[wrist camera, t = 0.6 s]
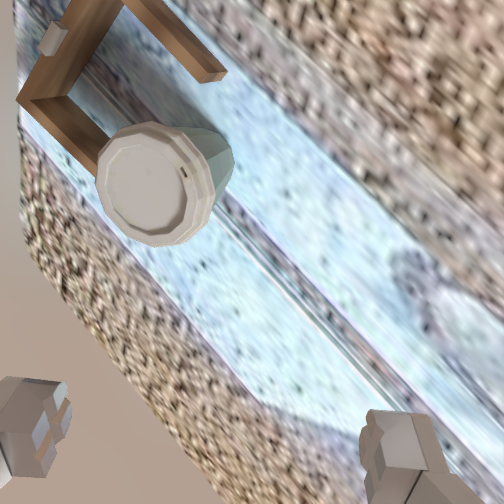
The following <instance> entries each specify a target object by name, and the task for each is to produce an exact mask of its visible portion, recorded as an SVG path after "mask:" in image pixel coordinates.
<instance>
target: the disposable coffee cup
mask: <svg viewBox="0 0 504 504" xmlns="http://www.w3.org/2000/svg"><path fill="white" fill-rule="evenodd" d="M234 164H235V162H234V158H233V154H232V149H231V146H230V145H229V144H228V143H227V142H226V141H225V139H224V138H223V137H222V136H221V135H220V134H218V133H216V132H213V131H210V130H208V129H205V128H191V127H176V126H165V125H162V124H159V123H157V122H154V121H148V122H144V123H140V124H135V125H131V126H127V127H123V128H121V129H120V130H118V131H117V132H116V133H115V134H114V135H113V136H112V138H111V139H110V140H109V141H108V142H107V144H106V145H105V146H104V147H103V148H102V149H101V151H100V152H99V153H98V161H97V169H96V176H95V186H96V189H97V191H98V194H99V197H100V200H101V203H102V206H103V209H104V212H105V214H106V215H107V216H108V217H109V218H110V219H111V220H112V221H113V222H114V223H115V224H116V225H117V227H118V228H119V229H120V230H121V231H122V232H123V233H124V234H125V235H126V236H127V237H130V238H132V239H134V240H137V241H139V242H142V243H144V244H147V245H149V246H152V247H154V248H155V247H163V246H171V245H179V244H183V243H184V242H187V241H188V240H189V239H191V238H192V237H193V236H194V235H195V234H196V233H197V232H199V231H200V230H201V229H202V228H203V227H204V226H205V225H207V224H208V220H209V217H210V213H211V211H212V209H213V207H214V206H215V204H216V202H217V201H218V199H219V197H220V196H221V194H222V192H223V190H224V189H225V187H226V185H227V184H228V182H229V180H230V178H231V175H232V171H233V168H234Z"/></svg>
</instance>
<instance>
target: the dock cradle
mask: <svg viewBox="0 0 504 504" xmlns="http://www.w3.org/2000/svg"><path fill="white" fill-rule="evenodd" d="M124 4H125V5H126V6H127V7H128V8H129V9H130V10H131V12H132V13H133V14H134V15H135V16H136V17H137V18H138V19H139V20H140V21H141V22H142V23H143V24H144V25H145V26H146V27H147V28H148V29H149V31H150V32H151V33H152V34H153V35H154V36H155V37H156V38H157V39H158V40H159V41H160V42H161V43H162V44H163V45H164V46H165V47H166V49H167V50H168V51H169V52H170V53H171V54H172V55H173V56H174V57H175V58H176V59H177V60H178V61H179V62H180V63H181V64H182V65H183V66H184V68H185V69H186V70H187V71H188V72H189V73H190V74H191V75H192V76H193V77H194V78H195V79H196V80H197V81H198V82H199V83H200V84H202V83H209V82H215V81H221V80H222V78H223V77H224V76H225V75H226V74H227V72H228V71H227V70H226V69H225V67H224V66H223V65H222V64H221V63H220V62H219V61H218V60H217V59H216V58H215V57H214V56H213V55H212V53H211V52H210V51H209V50H208V49H207V48H206V47H205V46H204V45H203V44H202V43H201V42H200V41H199V40H198V38H197V37H196V36H195V35H194V34H193V33H192V32H191V31H190V30H189V29H188V28H187V27H186V26H185V24H184V23H183V22H182V21H181V20H180V19H179V18H178V17H177V16H176V15H175V14H174V13H173V12H172V10H171V9H170V8H169V7H168V6H167V5H166V4H165V3H164V2H163V1H162V0H71V2H70V4H69V6H68V7H67V9H66V11H65V13H64V14H63V16H62V18H61V20H60V22H59V21H52V22H51V24H50V25H49V27H48V29H47V31H46V33H45V34H44V36H43V38H42V40H41V42H40V43H39V45H38V47H37V48H38V49H39V50H40V51H41V52H42V54H41V55H40V57H39V59H38V61H37V62H36V64H35V66H34V68H33V70H32V71H31V73H30V75H29V77H28V78H27V80H26V82H25V84H24V85H23V87H22V89H21V91H20V93H19V94H18V96H17V98H16V101H17V102H18V103H19V104H20V105H21V106H22V107H23V108H24V109H25V110H26V111H27V112H28V113H29V114H30V115H31V116H32V117H33V118H34V119H35V120H36V121H37V122H38V123H40V124H41V125H42V126H43V127H44V128H45V129H46V130H47V131H48V132H49V133H50V134H51V135H52V136H53V137H54V138H55V139H56V140H57V141H58V142H59V143H60V144H61V145H62V146H63V147H64V148H65V149H66V150H67V151H68V152H69V153H70V154H71V155H72V156H73V157H74V158H75V159H77V160H78V161H79V162H80V163H81V164H82V165H83V166H84V167H85V168H86V169H87V170H88V171H89V172H90V173H91V174H92V175H93V176H94V177H95V176H96V169H97V161H98V153H99V152H100V151H101V149H102V148H103V147H104V146H105V145H106V144H107V142H108V141H109V140H110V138H109V137H108V136H107V135H106V134H105V133H104V132H103V131H102V130H101V129H100V128H99V127H98V126H97V125H96V124H95V123H94V122H93V121H92V120H91V119H90V118H89V117H88V116H87V115H86V114H85V113H84V112H83V111H82V110H81V109H80V108H79V107H78V106H77V105H76V104H75V103H74V102H73V101H72V100H71V99H70V98H69V97H68V96H67V94H68V93H69V91H70V89H71V88H72V86H73V85H74V83H75V82H76V80H77V78H78V77H79V75H80V74H81V72H82V70H83V69H84V67H85V66H86V64H87V63H88V61H89V59H90V58H91V56H92V55H93V53H94V51H95V50H96V48H97V47H98V45H99V44H100V42H101V40H102V39H103V37H104V36H105V34H106V33H107V31H108V29H109V28H110V26H111V25H112V23H113V21H114V20H115V18H116V17H117V15H118V14H119V12H120V10H121V9H122V7H123V6H124Z"/></svg>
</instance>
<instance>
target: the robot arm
mask: <svg viewBox="0 0 504 504" xmlns="http://www.w3.org/2000/svg"><path fill="white" fill-rule="evenodd" d="M67 392H68V389H67V386H66V383H64V382H55V381H48V380H39V379H30V378H22V377H12V376H6V377H5V378H4V379H2V380H1V381H0V488H2V487H3V486H4V485H5V484H6V483H7V482H8V481H9V480H10V479H11V478H12V477H11V476H18V477H34V478H46V476H47V474H48V471H49V469H50V467H51V465H52V463H53V461H54V459H55V457H56V454H57V452H56V448H55V445H56V444H57V443H58V442H59V441H61V440H62V439H63V438H64V437H65V435H66V433H67V430H68V428H69V425H70V420H71V416H72V407H71V402H70V401H69V400H68V399H67V398H65V396H66V394H67ZM366 422H367V425H366V426H365V427H363V428H362V430H361V433H360V437H359V456H360V462H361V465H362V466H363V468H364V469H365V470H366V471H367V475H366V477H365V480H364V484H365V489H366V495H367V500H368V504H485V503H484V502H483V501H482V500H481V499H480V498H479V497H478V496H477V495H476V494H475V493H474V492H473V491H472V490H471V489H470V488H469V486H468V485H467V484H466V483H465V482H464V481H463V480H462V479H461V478H460V477H459V476H458V475H457V474H452V473H450V471H449V468H448V465H447V463H446V460H445V457H444V454H443V452H442V449H441V446H440V444H439V441H438V438H437V435H436V433H435V430H434V427H433V425H432V422H431V419H430V417H429V416H428V415H427V414H419V413H407V412H400V411H387V410H374V409H370V410H369V411H368V413H367V416H366Z"/></svg>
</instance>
